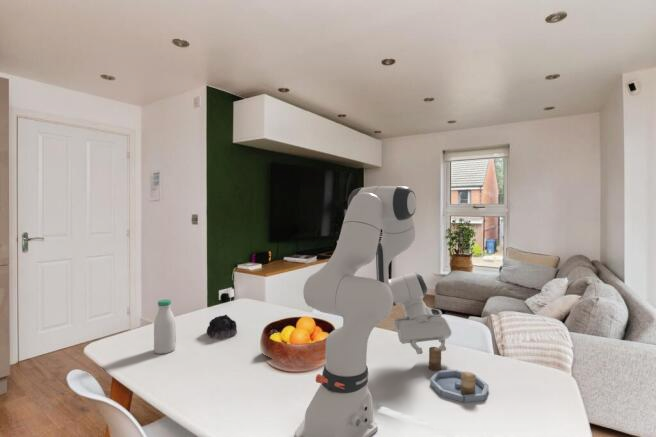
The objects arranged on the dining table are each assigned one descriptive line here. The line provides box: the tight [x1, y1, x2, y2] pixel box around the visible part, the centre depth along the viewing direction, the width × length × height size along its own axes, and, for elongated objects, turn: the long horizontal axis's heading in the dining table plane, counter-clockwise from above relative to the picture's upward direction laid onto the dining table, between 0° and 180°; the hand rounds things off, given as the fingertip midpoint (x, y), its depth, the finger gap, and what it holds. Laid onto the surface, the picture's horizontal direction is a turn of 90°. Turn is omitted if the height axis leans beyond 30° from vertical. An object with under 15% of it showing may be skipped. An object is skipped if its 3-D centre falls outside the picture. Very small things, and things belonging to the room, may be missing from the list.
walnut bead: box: [428, 346, 442, 372], centre depth 120 cm, size 4×4×8 cm
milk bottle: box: [153, 299, 177, 355], centre depth 136 cm, size 8×8×20 cm
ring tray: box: [429, 369, 489, 403], centre depth 107 cm, size 16×16×3 cm
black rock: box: [206, 314, 238, 340], centre depth 154 cm, size 13×14×10 cm
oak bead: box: [461, 371, 477, 395], centre depth 103 cm, size 4×4×6 cm
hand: (432, 352), depth 121 cm, fingers open, 8 cm apart
